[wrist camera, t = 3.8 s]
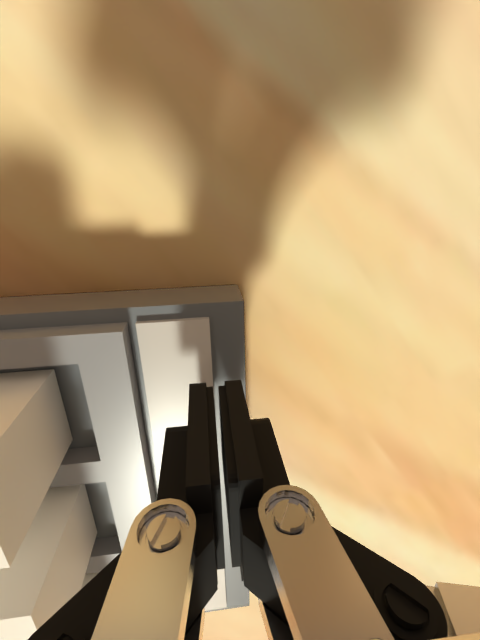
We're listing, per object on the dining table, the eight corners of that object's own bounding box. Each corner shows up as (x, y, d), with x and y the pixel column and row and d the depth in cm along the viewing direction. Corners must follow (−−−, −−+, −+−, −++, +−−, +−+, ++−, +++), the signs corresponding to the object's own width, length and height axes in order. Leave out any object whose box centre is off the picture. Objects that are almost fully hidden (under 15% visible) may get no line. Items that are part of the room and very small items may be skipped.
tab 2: (83, 479, 13) (19, 643, 8) (97, 531, 14) (47, 702, 10) (2, 488, 13) (-111, 663, 8) (23, 541, 14) (-66, 721, 9)
